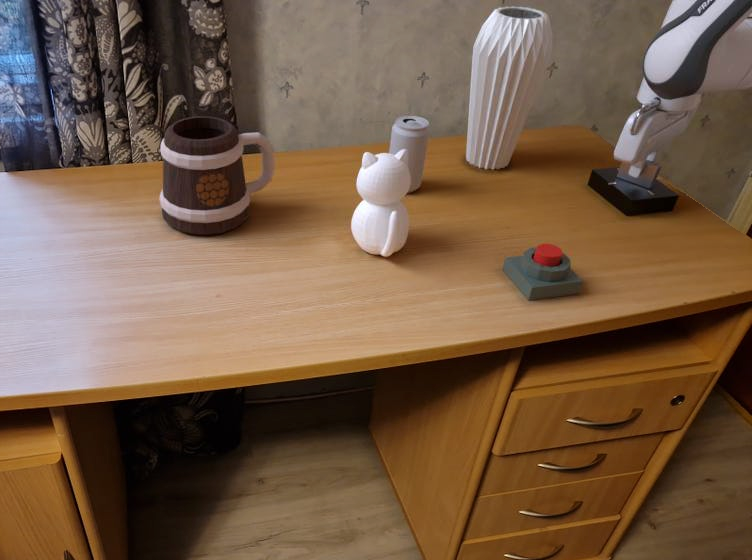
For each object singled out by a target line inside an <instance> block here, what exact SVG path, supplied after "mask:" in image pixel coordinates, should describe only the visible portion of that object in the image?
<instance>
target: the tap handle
mask: <svg viewBox="0 0 752 560" xmlns="http://www.w3.org/2000/svg"><path fill="white" fill-rule="evenodd" d="M644 166H645V168H644V170H643V173H642V174H641V175H640V176H639V177H633V176H630V175H629V170H630V167H631V165H629V164H626V163H623V162H620V166H619V167H620V168H619V171H618V174H617V177H618V178H621V179H623V180H626V181H629V182H632V183H635V184H638V185H640V186H643V187H646V188H649V189H650V188H651V187H653V186H654V184H655V181H656V179H657V178H658V177H659V173H660V171H661V169H662V166H663V164H662V163H659V162H656V161H650V160H647V159H645V163H644Z"/></svg>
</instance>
